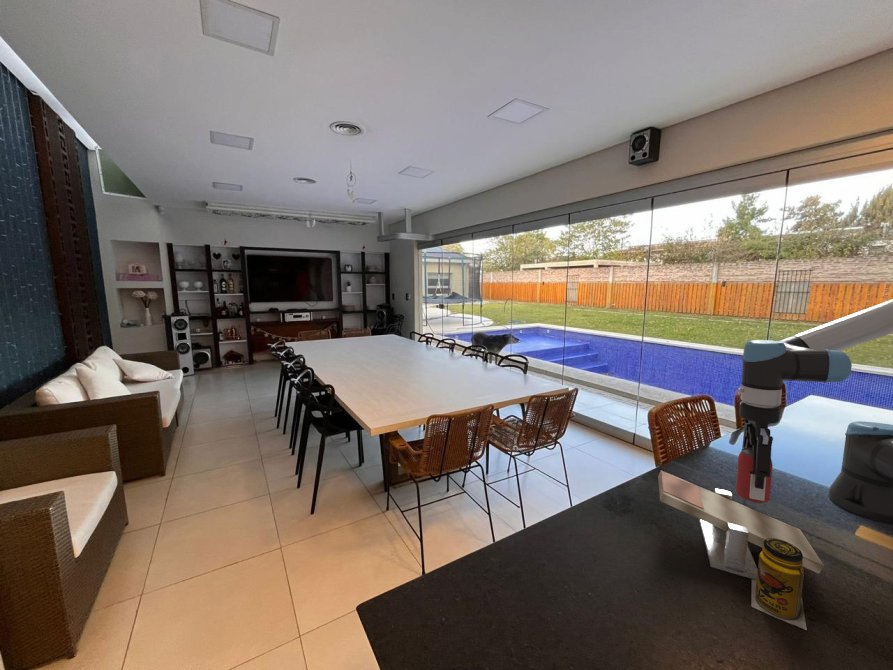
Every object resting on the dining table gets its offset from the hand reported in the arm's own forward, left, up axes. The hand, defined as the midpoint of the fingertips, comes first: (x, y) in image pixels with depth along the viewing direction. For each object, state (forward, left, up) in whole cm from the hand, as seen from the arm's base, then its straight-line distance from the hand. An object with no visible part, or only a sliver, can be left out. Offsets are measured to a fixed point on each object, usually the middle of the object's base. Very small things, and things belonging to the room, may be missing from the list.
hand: (752, 491), depth 92 cm
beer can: (0, 0, -2) cm, 2 cm away
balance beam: (+8, +16, 0) cm, 18 cm away
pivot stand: (+8, +16, -7) cm, 19 cm away
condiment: (+2, +30, -8) cm, 31 cm away
